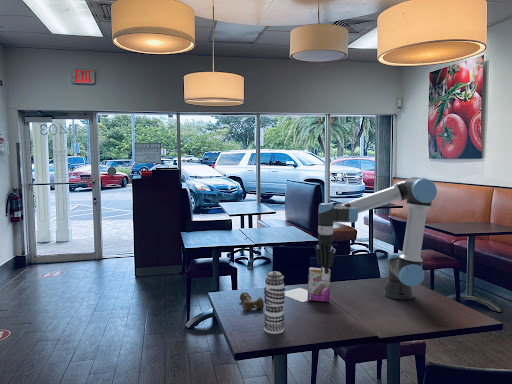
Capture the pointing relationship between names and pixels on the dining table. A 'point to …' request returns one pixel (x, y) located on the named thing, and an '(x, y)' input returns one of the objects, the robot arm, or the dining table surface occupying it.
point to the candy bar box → (318, 286)
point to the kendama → (251, 302)
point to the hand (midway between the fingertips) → (324, 279)
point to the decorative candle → (274, 303)
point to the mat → (297, 294)
